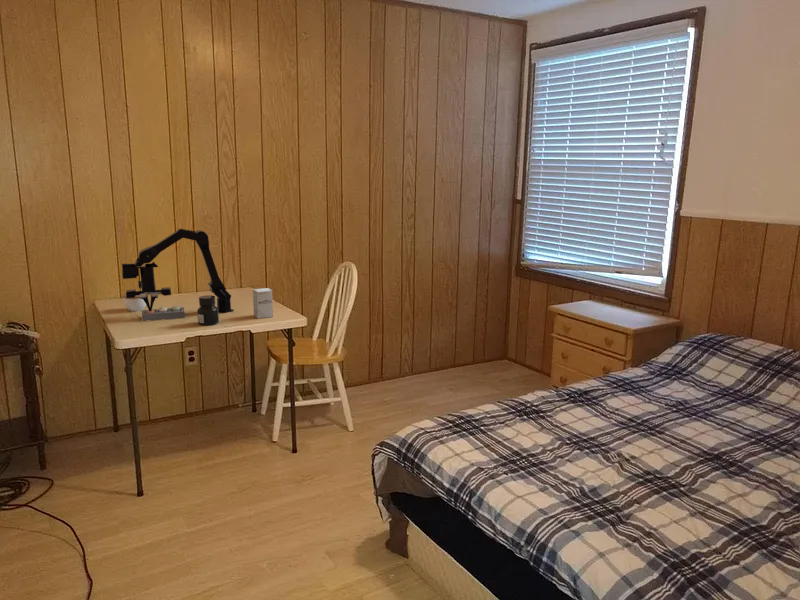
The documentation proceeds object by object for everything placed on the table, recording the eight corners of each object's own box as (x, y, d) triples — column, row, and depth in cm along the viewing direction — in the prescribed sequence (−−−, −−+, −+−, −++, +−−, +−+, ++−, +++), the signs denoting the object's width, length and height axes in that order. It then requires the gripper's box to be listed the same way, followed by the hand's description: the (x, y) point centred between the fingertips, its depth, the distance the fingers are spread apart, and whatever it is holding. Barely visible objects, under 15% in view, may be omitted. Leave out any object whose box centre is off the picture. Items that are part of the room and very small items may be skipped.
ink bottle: (199, 321, 274) (197, 295, 272) (219, 320, 276) (218, 294, 274) (197, 326, 265) (195, 299, 263) (218, 325, 267) (216, 298, 265)
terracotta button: (155, 314, 281) (154, 309, 281) (154, 315, 278) (154, 311, 277) (146, 314, 280) (146, 310, 279) (146, 316, 276) (146, 312, 276)
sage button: (180, 310, 285) (179, 305, 284) (180, 311, 281) (180, 307, 281) (171, 310, 283) (171, 306, 283) (172, 312, 280) (171, 308, 280)
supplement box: (257, 318, 279) (256, 291, 276) (253, 315, 286) (252, 288, 283) (273, 317, 282) (272, 290, 280) (269, 313, 289) (268, 287, 286)
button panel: (184, 313, 288) (183, 307, 288) (184, 317, 280) (184, 311, 279) (143, 316, 282) (142, 310, 281) (142, 321, 274) (141, 314, 273)
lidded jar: (133, 306, 301) (131, 288, 299) (152, 308, 298) (151, 289, 296) (119, 312, 290) (117, 292, 288) (139, 313, 288) (137, 293, 286)
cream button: (167, 310, 283) (167, 306, 282) (167, 312, 279) (167, 308, 279) (159, 311, 281) (158, 307, 281) (159, 313, 278) (158, 309, 278)
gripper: (169, 273, 286) (172, 305, 289) (125, 275, 279) (129, 308, 282) (169, 277, 275) (172, 310, 279) (124, 279, 269) (127, 314, 272)
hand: (150, 311), depth 278 cm, fingers closed, pressing on terracotta button
